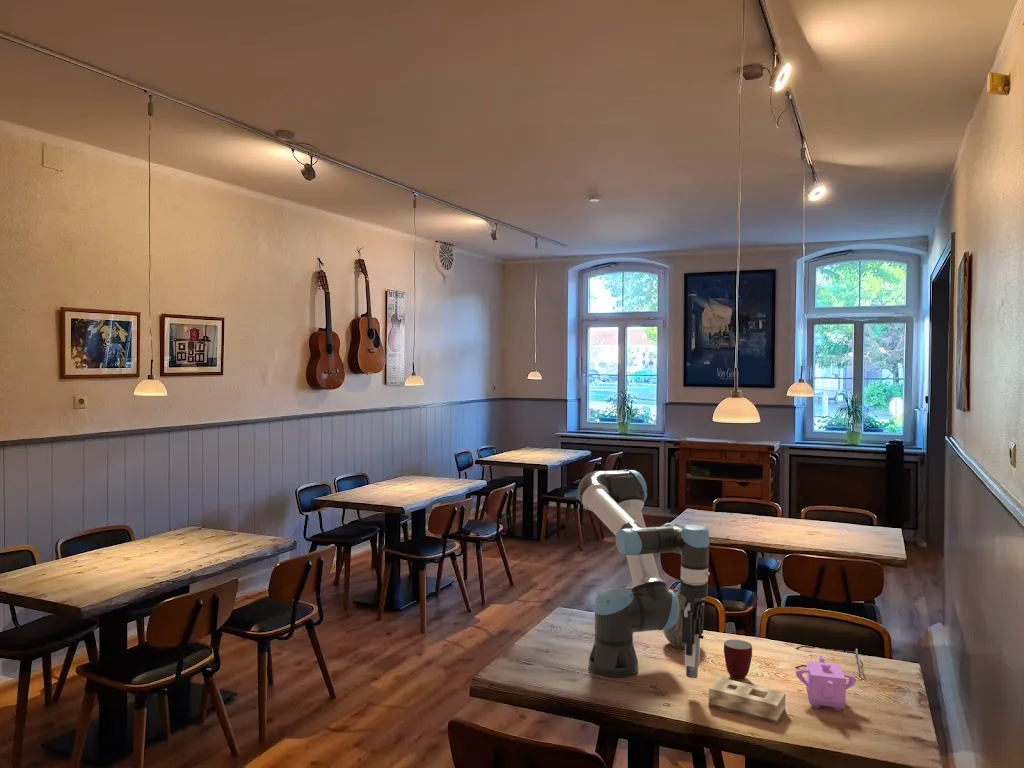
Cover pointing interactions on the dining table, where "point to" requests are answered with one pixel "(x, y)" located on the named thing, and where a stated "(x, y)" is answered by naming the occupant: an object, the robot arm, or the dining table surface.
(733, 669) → the mug
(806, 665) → the eyeglasses
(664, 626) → the robot arm
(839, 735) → the dining table surface
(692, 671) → the pin
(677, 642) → the vase
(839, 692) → the teapot
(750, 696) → the block
